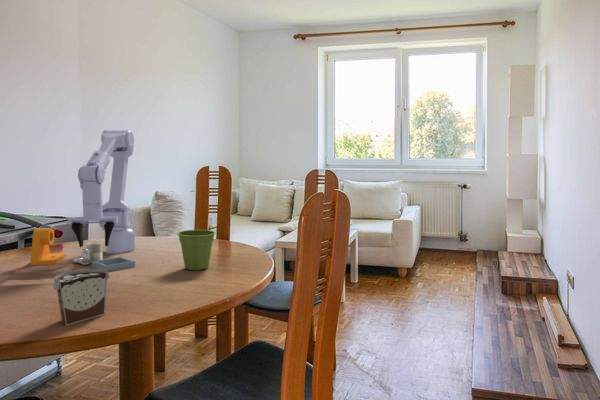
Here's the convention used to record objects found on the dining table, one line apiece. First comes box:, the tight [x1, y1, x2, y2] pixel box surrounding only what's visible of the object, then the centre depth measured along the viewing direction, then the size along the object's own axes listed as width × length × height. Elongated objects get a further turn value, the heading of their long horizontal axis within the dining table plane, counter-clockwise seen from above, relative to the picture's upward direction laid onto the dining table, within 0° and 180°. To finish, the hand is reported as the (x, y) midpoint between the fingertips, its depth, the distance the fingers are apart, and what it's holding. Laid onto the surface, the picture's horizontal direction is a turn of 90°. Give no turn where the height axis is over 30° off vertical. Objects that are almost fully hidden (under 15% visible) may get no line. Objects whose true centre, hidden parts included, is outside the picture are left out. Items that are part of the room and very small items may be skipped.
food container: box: [52, 268, 110, 327], centre depth 115 cm, size 12×6×10 cm, turn 145°
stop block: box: [85, 241, 104, 264], centre depth 167 cm, size 4×4×6 cm
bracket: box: [30, 227, 67, 266], centre depth 168 cm, size 11×7×12 cm, turn 6°
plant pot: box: [176, 229, 217, 271], centre depth 163 cm, size 12×12×11 cm
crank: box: [72, 248, 90, 266], centre depth 164 cm, size 9×3×5 cm, turn 45°
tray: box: [91, 256, 136, 273], centre depth 160 cm, size 9×9×3 cm
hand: (94, 246), depth 166 cm, fingers open, 7 cm apart
